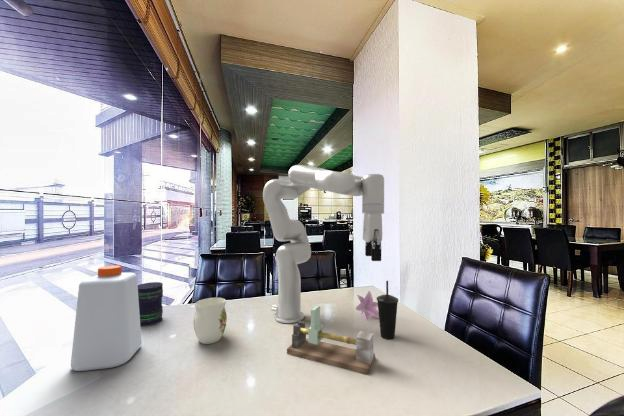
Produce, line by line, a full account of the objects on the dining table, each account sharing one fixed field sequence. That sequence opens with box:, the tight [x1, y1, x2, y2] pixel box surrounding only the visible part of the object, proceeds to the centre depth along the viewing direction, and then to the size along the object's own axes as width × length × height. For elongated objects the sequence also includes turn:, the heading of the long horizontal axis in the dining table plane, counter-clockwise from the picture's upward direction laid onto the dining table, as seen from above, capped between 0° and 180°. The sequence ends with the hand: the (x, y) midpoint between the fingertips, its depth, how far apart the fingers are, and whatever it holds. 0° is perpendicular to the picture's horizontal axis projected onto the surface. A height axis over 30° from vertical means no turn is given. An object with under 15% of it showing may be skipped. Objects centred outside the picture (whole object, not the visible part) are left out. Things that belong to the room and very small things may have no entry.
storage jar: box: [137, 281, 164, 327], centre depth 110 cm, size 10×10×15 cm
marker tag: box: [307, 305, 324, 344], centre depth 85 cm, size 3×4×10 cm
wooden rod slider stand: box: [286, 320, 376, 375], centre depth 83 cm, size 26×9×8 cm, turn 65°
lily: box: [355, 290, 379, 322], centre depth 114 cm, size 12×12×10 cm
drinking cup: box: [376, 280, 399, 341], centre depth 96 cm, size 8×8×20 cm
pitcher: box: [193, 297, 228, 345], centre depth 95 cm, size 11×18×14 cm, turn 4°
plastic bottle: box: [70, 265, 142, 372], centre depth 82 cm, size 15×15×28 cm
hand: (372, 258), depth 93 cm, fingers open, 9 cm apart
